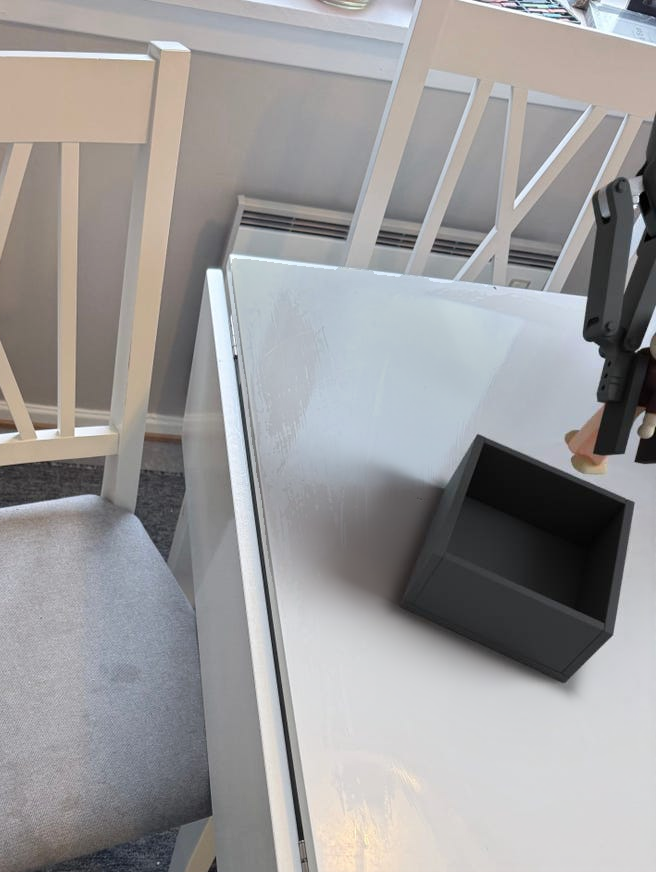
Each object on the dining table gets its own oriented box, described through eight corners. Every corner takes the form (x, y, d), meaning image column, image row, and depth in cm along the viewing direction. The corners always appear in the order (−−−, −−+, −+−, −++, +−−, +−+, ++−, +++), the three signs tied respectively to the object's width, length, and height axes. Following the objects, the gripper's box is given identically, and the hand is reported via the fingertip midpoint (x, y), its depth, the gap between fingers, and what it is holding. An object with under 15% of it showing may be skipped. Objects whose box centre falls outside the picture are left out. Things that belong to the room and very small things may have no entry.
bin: (591, 553, 80) (635, 501, 75) (565, 683, 70) (613, 635, 65) (444, 488, 82) (477, 433, 76) (399, 606, 72) (433, 553, 67)
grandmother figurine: (545, 423, 67) (646, 275, 57) (589, 427, 68) (696, 282, 58) (580, 495, 63) (696, 348, 53) (626, 498, 64) (749, 355, 53)
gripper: (787, 147, 61) (696, 480, 64) (581, 96, 59) (500, 440, 63) (879, 99, 54) (772, 478, 57) (647, 40, 52) (551, 432, 55)
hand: (629, 457), depth 60 cm, fingers closed on grandmother figurine, 2 cm apart
